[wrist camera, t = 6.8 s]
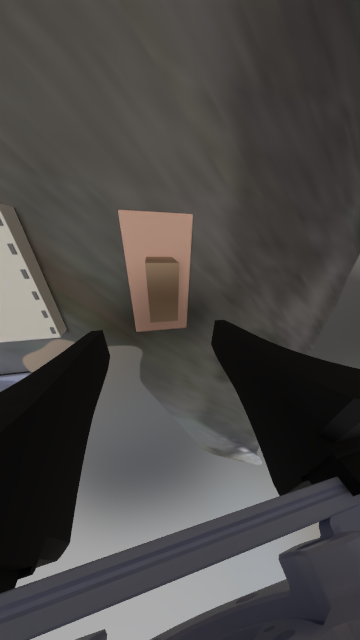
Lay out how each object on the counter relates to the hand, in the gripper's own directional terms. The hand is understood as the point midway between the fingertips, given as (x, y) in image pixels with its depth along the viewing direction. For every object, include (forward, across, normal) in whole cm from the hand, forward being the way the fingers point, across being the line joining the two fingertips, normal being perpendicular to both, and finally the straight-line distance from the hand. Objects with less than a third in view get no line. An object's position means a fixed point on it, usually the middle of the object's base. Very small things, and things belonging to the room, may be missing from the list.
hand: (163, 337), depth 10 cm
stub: (+9, 0, -2) cm, 9 cm away
